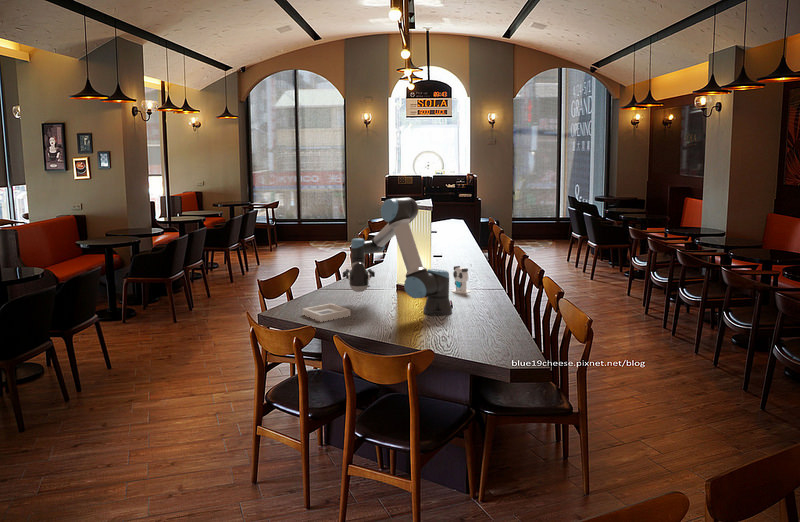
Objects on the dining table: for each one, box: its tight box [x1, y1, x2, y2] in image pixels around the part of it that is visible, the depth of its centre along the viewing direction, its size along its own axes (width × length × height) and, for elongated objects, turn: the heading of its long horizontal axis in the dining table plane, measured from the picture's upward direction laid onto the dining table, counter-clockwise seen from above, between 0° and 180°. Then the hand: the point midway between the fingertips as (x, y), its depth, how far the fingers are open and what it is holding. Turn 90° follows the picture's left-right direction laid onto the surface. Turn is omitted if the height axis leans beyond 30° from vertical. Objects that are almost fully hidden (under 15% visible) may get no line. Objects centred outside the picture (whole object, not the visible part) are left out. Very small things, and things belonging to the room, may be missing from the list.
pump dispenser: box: [348, 262, 370, 293], centre depth 331 cm, size 10×10×15 cm
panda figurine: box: [451, 265, 471, 294], centre depth 386 cm, size 12×11×15 cm
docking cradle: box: [302, 302, 351, 323], centre depth 330 cm, size 18×18×4 cm
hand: (359, 277), depth 327 cm, fingers closed on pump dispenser, 10 cm apart
